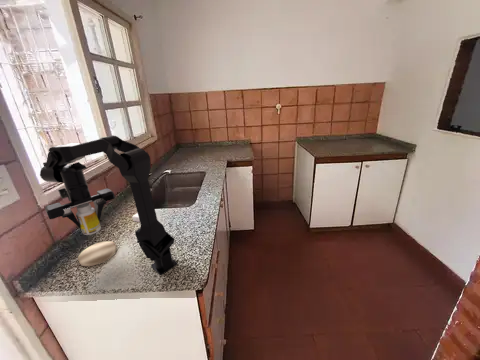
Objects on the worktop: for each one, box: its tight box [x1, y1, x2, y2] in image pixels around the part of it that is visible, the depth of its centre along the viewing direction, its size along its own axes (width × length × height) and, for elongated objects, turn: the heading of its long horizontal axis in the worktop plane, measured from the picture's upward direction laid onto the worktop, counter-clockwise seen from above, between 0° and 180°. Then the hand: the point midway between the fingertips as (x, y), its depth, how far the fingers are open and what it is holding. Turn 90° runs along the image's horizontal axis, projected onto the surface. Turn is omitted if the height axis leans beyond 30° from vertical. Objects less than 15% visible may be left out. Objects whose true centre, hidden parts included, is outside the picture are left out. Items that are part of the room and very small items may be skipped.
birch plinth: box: [77, 240, 118, 267], centre depth 80 cm, size 12×12×2 cm
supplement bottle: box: [75, 202, 102, 236], centre depth 75 cm, size 6×6×10 cm
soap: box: [131, 212, 140, 223], centre depth 103 cm, size 9×6×3 cm, turn 72°
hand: (89, 223), depth 76 cm, fingers closed on supplement bottle, 6 cm apart
